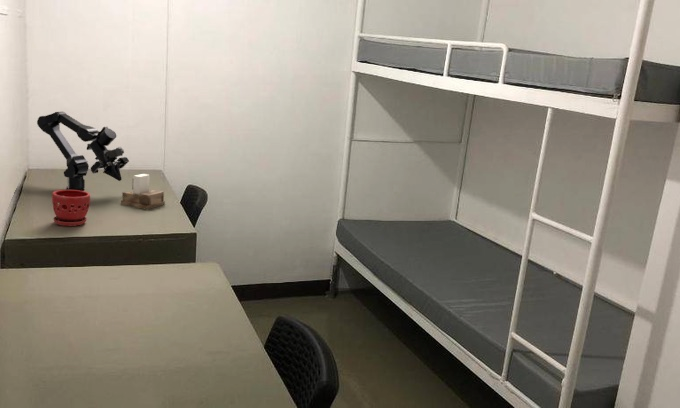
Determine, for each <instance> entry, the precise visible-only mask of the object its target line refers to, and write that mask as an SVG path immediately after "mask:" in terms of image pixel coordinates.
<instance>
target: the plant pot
mask: <svg viewBox="0 0 680 408" xmlns="http://www.w3.org/2000/svg"><path fill="white" fill-rule="evenodd" d="M51 198H52V208H53V212H54V215H55V216H54V217H53V221H54V223H56V224H57V225H59V226H64V227H76V226H80V225H81V226H82V225H84V224H85V223H86V222H87V220H88V219H87V217H86V216H87V214H88V212H89V208H90V204H91V194H90V193H89V192H88V191H85V190H68V189H60V190H55V191H53V192H52V196H51Z"/></svg>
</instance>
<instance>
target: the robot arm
mask: <svg viewBox="0 0 680 408" xmlns="http://www.w3.org/2000/svg"><path fill="white" fill-rule="evenodd" d="M36 124H37V127H39V129H40V130H41V131H42V132H44V133H46V134H47V135H49V136H50V138H51V139H52V141H53V142H54V144H55V145H56V147H57V148H58V149H59V151H60V153H61V155H63V157H64V158H65V160H66V167H67V168H66V169H65V170H64V171H63V176H64V177H65V178H67V186H66V189H67V188H68V189H67V190H79V191H85V185H86V184H85V183H86V182H85V180H86V179H84V177H85V176H87V174H88V171H89V163H88V160H86V158H85V156H84V155H82V154H81V155H78V154H77V153H76V152H75V150H74V149H73V146H71V144H70V143H69V141H68V140H67V138H66V137H65V136H64V134H63V133H62V131H61V130H60V129H61V128H60V124H62V125H63V126H65V127H67V128H68V129H70V130H71V131H73V132H75V133H76V135H77V137H78V138H79V139H80V140H81V141H82V142H85V143H87V142H90V143H87V145H86V150H87V151H92V152H93V153H94V155H95V158H94V159H95V160H96V162H94V163H93V164H92V165H91V167H90V171H91V173H92V174H98V173H99V170H100V169H103V171H102V173H103V174H105V175H108V176H110V177H112V178H113V179H115V180H116V181H119V182H121V181H122V175H121V171H120V170H121V169H123V168H124V167H125V166H126V165H128V163H129V162H130V161H129V158H128V157H127V156H124V157H123V155H124V153H125V151H124V149H123V148H122V147H121V146H118V147H116V148H114V149H108V148H107V147H106V146H109V145H111V143H112V142H114V140H115V139H116V138H117V134H116V131H114V130H113V129H111V128H109V127H108V126H103V127H102V128H101V130H98V129H97V128H96V127H93V126H90V125H86V124H83V123H81V122H80V121H78V120H77V119H75V118H74V117H72V116H70V115H69V114H68V113H66V112H65V111H55V112H53V113H51V114H47V115H40V116H39V117H38V118H37V121H36ZM118 157H119V158H118Z"/></svg>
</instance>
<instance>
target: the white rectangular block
mask: <svg viewBox="0 0 680 408" xmlns="http://www.w3.org/2000/svg"><path fill="white" fill-rule="evenodd" d="M150 180H151V178H150V174H147V173H141V174H136V175H133V177H132V184H131V185H132V188H131V189H132V193H133V194H138V195H139V194H140V193H144V192H148V191H150Z"/></svg>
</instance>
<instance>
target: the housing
mask: <svg viewBox="0 0 680 408" xmlns="http://www.w3.org/2000/svg"><path fill="white" fill-rule="evenodd" d="M164 197H165V193H164V191H163V190H157V189H152V190H149V191H148V192H144V193H140V194H139V195H138V194H133V192H129V191H123V192H122V199H121V200H120V204H121V205H125V206H130V207H133V208H139V209H142V210H149V209H153V208H157V206H158V207H160V206H164V204H165V205H166V201H165V200H164V199H165V198H164Z"/></svg>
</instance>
